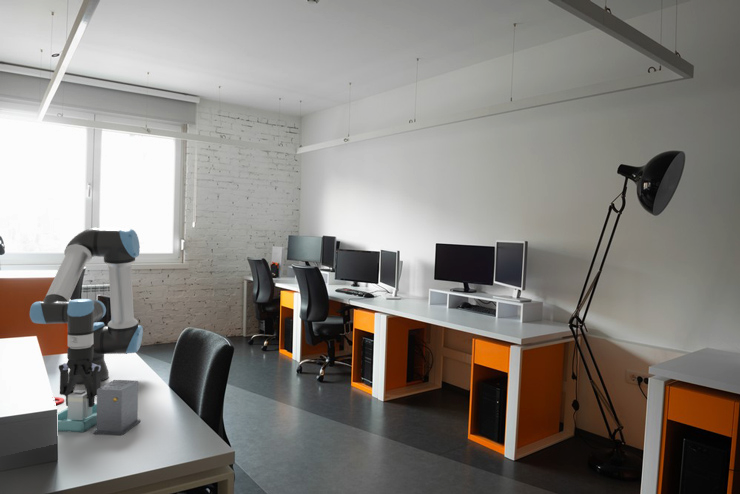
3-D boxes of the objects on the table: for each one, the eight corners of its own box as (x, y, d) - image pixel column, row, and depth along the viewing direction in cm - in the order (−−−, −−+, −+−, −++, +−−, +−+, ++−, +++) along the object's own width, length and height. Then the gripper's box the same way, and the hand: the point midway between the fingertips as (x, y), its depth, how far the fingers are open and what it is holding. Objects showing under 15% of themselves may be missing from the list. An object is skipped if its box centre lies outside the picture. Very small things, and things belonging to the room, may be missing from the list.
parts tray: (77, 411, 179) (77, 402, 179) (113, 412, 179) (113, 404, 179) (43, 430, 162) (43, 421, 162) (83, 432, 162) (83, 422, 161)
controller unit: (113, 420, 172) (113, 379, 171) (140, 421, 171) (140, 380, 171) (93, 434, 160) (93, 389, 160) (122, 435, 160) (122, 390, 159)
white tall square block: (76, 414, 173) (77, 388, 173) (91, 414, 172) (92, 389, 172) (67, 419, 168) (67, 393, 167) (82, 420, 167) (82, 394, 167)
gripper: (46, 347, 166) (46, 418, 167) (100, 349, 165) (100, 421, 166) (61, 342, 174) (61, 410, 175) (113, 344, 173) (113, 413, 174)
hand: (80, 415), depth 170 cm, fingers closed on white tall square block, 5 cm apart
